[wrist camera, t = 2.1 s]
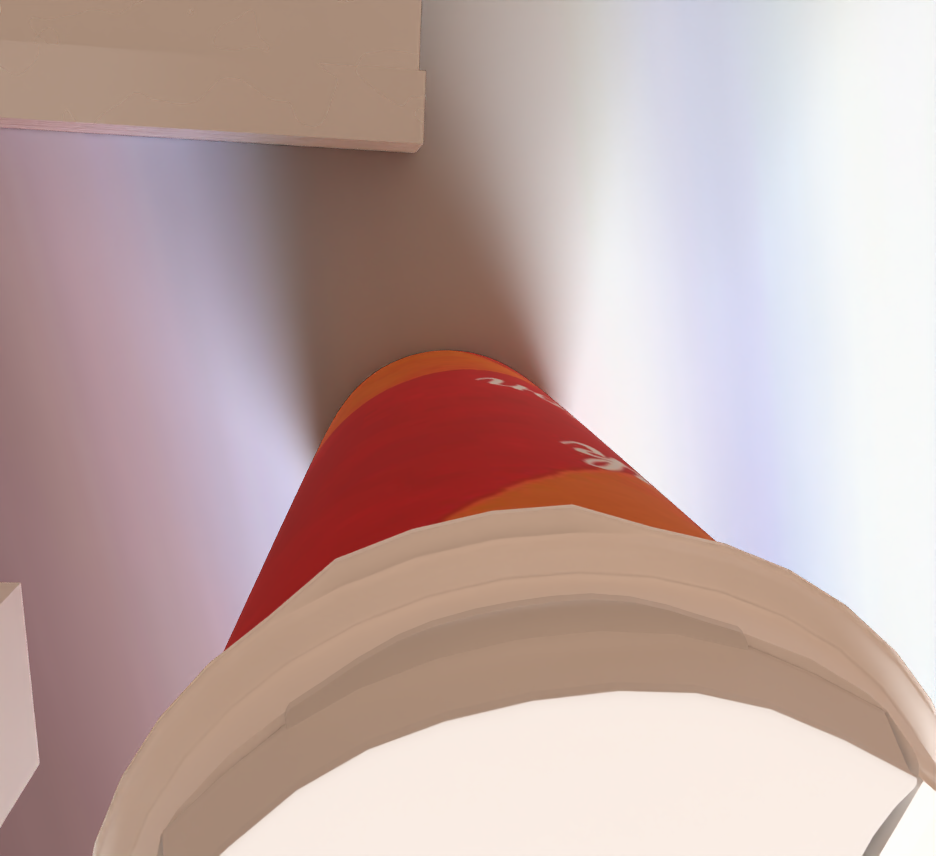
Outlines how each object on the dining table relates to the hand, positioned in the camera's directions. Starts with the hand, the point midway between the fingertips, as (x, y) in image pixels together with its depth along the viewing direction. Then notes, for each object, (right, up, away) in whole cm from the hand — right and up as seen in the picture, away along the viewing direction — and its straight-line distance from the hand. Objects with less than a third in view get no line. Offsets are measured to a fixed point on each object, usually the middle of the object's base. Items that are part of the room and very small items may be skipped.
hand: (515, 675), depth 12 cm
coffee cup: (-1, +3, +9) cm, 10 cm away
